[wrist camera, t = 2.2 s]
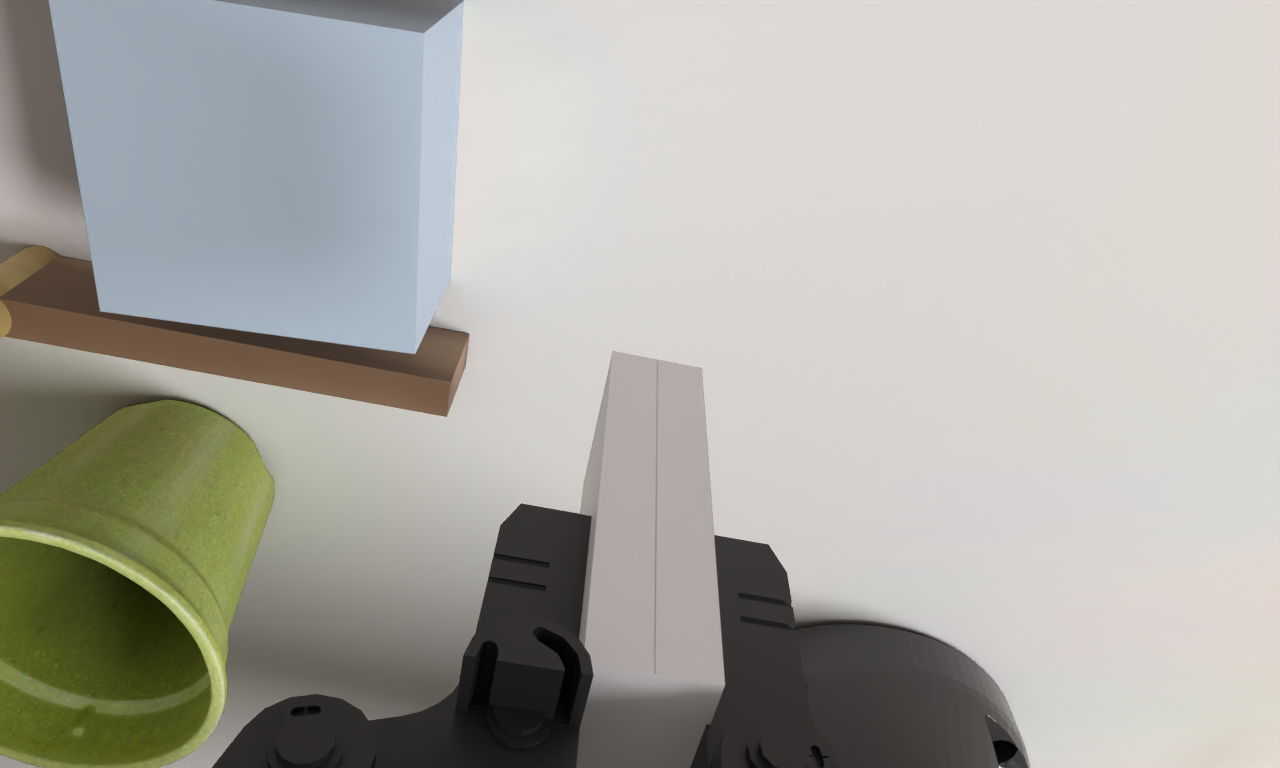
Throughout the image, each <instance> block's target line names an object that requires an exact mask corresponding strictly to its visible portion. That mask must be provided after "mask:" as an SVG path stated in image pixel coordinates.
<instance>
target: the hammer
mask: <svg viewBox="0 0 1280 768" xmlns="http://www.w3.org/2000/svg"><path fill="white" fill-rule="evenodd" d="M4 336H6V337H11V338H17V339H22V340H28V341H33V342H39V343H44V344H50V345H55V346H61V347H66V348H72V349H77V350H83V351H88V352H94V353H99V354H105V355H110V356H116V357H121V358H127V359H132V360H138V361H143V362H149V363H154V364H160V365H165V366H171V367H176V368H182V369H187V370H193V371H198V372H204V373H209V374H215V375H220V376H225V377H231V378H236V379H242V380H247V381H253V382H258V383H264V384H269V385H275V386H280V387H286V388H291V389H297V390H302V391H308V392H313V393H319V394H324V395H330V396H335V397H341V398H346V399H352V400H357V401H363V402H368V403H374V404H379V405H385V406H390V407H396V408H401V409H407V410H412V411H418V412H423V413H429V414H434V415H440V416H445V417H447V415H448V412H449V409H450V407H451V404H452V401H453V398H454V396H455V393H456V390H457V388H458V385H459V382H460V380H461V377H462V374H463V371H464V369H465V365H466V357H467V349H468V342H469V334H467V333H461V332H456V331H451V330H446V329H440V328H435V327H430V326H428V328H427V330H426V332H425V334H424V337H423V339H422V341H421V343H420V345H419V347H418V349H417V351H416V353H415V354H411V353H403V352H396V351H389V350H381V349H374V348H367V347H359V346H352V345H344V344H337V343H330V342H322V341H315V340H308V339H300V338H293V337H286V336H278V335H271V334H263V333H256V332H249V331H241V330H234V329H227V328H219V327H212V326H205V325H197V324H190V323H183V322H175V321H168V320H160V319H153V318H146V317H138V316H131V315H124V314H116V313H109V312H102V311H100V307H99V301H98V295H97V289H96V283H95V277H94V271H93V265H92V262H88V261H83V260H78V259H73V258H67V257H62V256H59V255H58V254H56V253H55V252H53V251H52V250H50V249H47V248H45V247H41V246H29V247H26V248H24V249H23V250H21V251H19V252H18V253H16V254H15V255H13V256H12V257H10V258H9V259H7V260H5V261H4V262H2V263H1V264H0V339H1V338H3V337H4Z"/></svg>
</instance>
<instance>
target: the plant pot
mask: <svg viewBox="0 0 1280 768" xmlns="http://www.w3.org/2000/svg"><path fill="white" fill-rule="evenodd" d="M273 499H274V480H273V477H272V476H271V475H270V474H269V472H268V471H267V469H266V467H265V465H264V463H263V461H262V459H261V457H260V455H259V452H258V450H257V447H256V445H255V443H254V441H253V440H252V439H251V438H250V437H249V436H248V435H247V434H246V433H245V432H244V431H242V430H241V429H240V428H239V427H237V426H236V425H235V424H234V423H232V422H231V421H229V420H227V419H226V418H224V417H222V416H221V415H219V414H217V413H215V412H213V411H210V410H208V409H205V408H203V407H200V406H197V405H194V404H190V403H186V402H182V401H176V400H161V401H156V402H151V403H144V404H139V405H134V406H128V407H123V408H121V409H119V410H118V411H116V412H115V413H113V414H112V415H110V416H109V417H108V418H106V419H105V420H103V421H102V422H101V423H99V424H98V425H96V426H95V427H94V428H92V429H91V430H89V431H88V432H87V433H85V434H84V435H83V436H81V437H80V438H79V439H77V440H76V441H75V442H73V443H72V444H71V445H69V446H68V447H66V448H65V449H64V450H62V451H61V452H60V453H58V454H57V455H55V456H54V457H53V458H51V459H50V460H48V461H47V462H46V463H44V464H43V465H42V466H40V467H39V468H37V469H36V470H35V471H33V472H32V473H30V474H29V475H28V476H26V477H25V478H24V479H22V480H21V481H19V482H18V483H17V484H15V485H14V486H12V487H11V488H10V489H8V490H7V491H6V492H4V493H3V494H1V495H0V755H2V756H5V757H8V758H11V759H14V760H17V761H20V762H23V763H26V764H30V765H34V766H37V767H41V768H159V767H162V766H166V765H168V764H171V763H173V762H175V761H177V760H179V759H181V758H183V757H185V756H187V755H189V754H190V753H191V752H193V751H195V750H196V749H197V748H199V747H200V746H201V745H202V744H203V743H204V742H205V741H206V740H207V739H208V738H209V736H210V735H211V734H212V732H213V731H214V729H215V728H216V726H217V724H218V722H219V720H220V718H221V715H222V712H223V710H224V707H225V703H226V698H227V674H226V668H225V665H226V661H227V655H228V633H229V630H230V626H231V623H232V620H233V617H234V614H235V611H236V608H237V605H238V602H239V599H240V596H241V593H242V590H243V587H244V584H245V581H246V578H247V575H248V572H249V570H250V567H251V564H252V561H253V558H254V555H255V552H256V550H257V547H258V544H259V541H260V539H261V536H262V533H263V530H264V528H265V525H266V522H267V519H268V516H269V513H270V510H271V507H272V504H273Z"/></svg>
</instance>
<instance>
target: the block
mask: <svg viewBox="0 0 1280 768" xmlns="http://www.w3.org/2000/svg"><path fill="white" fill-rule="evenodd" d="M48 1H49V7H50V13H51V19H52V25H53V31H54V37H55V43H56V49H57V55H58V61H59V67H60V73H61V79H62V85H63V91H64V97H65V103H66V109H67V115H68V121H69V127H70V133H71V139H72V145H73V151H74V157H75V163H76V169H77V175H78V181H79V187H80V193H81V199H82V205H83V211H84V217H85V223H86V229H87V235H88V241H89V247H90V253H91V259H92V265H93V271H94V277H95V283H96V289H97V295H98V301H99V307H100V311H102V312H109V313H116V314H124V315H131V316H138V317H146V318H153V319H160V320H168V321H175V322H183V323H190V324H197V325H205V326H212V327H219V328H227V329H234V330H241V331H249V332H256V333H263V334H271V335H278V336H286V337H293V338H300V339H308V340H315V341H322V342H330V343H337V344H344V345H352V346H359V347H367V348H374V349H381V350H389V351H396V352H403V353H411V354H415V353H416V351H417V349H418V347H419V345H420V343H421V341H422V339H423V337H424V334H425V332H426V330H427V328H428V326H429V324H430V322H431V320H432V318H433V315H434V313H435V311H436V309H437V307H438V305H439V303H440V301H441V299H442V296H443V294H444V292H445V290H446V288H447V286H448V284H449V282H450V279H451V264H452V243H453V221H454V200H455V179H456V158H457V137H458V115H459V94H460V73H461V52H462V31H463V9H464V0H48Z"/></svg>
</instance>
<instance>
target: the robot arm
mask: <svg viewBox="0 0 1280 768" xmlns="http://www.w3.org/2000/svg"><path fill="white" fill-rule="evenodd" d="M791 602H792V601H791V595H790V589H789V583H788V577H787V572H786V571H785V569H784V568H783V566H782V565H781V563H780V562H779V560H778V559H777V557H776V555H775V554H774V552H773V551H772V549H771V548H770V546H769V545H767V544H762V543H756V542H750V541H745V540H739V539H733V538H727V537H722V536H716V535H714V527H713V513H712V499H711V486H710V472H709V458H708V445H707V431H706V417H705V404H704V390H703V376H702V368H697V367H692V366H687V365H682V364H677V363H671V362H666V361H661V360H656V359H650V358H645V357H640V356H635V355H630V354H624V353H619V352H614V351H613V352H612V357H611V361H610V366H609V371H608V375H607V380H606V384H605V389H604V393H603V398H602V402H601V407H600V411H599V416H598V420H597V425H596V429H595V434H594V438H593V443H592V448H591V452H590V457H589V461H588V466H587V470H586V475H585V479H584V485H583V494H582V502H581V510H580V514H577V513H572V512H566V511H560V510H554V509H549V508H543V507H537V506H532V505H526V504H520V505H519V506H518V507H517V509H516V510H515V511H514V512H513V513H512V514H511V515H510V516H509V517H508V518H507V519H506V520H505V521H504V522H503V523H502V524H501V526H500V530H499V534H498V539H497V543H496V547H495V552H494V557H493V560H492V565H491V569H490V573H489V578H488V582H487V586H486V590H485V595H484V599H483V603H482V608H481V612H480V616H479V621H478V625H477V629H476V633H475V636H473V638H472V640H471V642H470V644H469V646H468V647H467V649H466V651H465V653H464V656H463V662H462V669H461V675H460V682H459V685H458V686H457V687H456V689H455V690H454V691H453V693H451V694H450V695H449V696H447V697H446V698H445V699H444V700H442V701H441V702H440V703H438V704H436V705H434V706H432V707H430V708H428V709H426V710H424V711H421V712H417V713H413V714H409V715H405V716H400V717H392V718H385V719H377V720H370V721H368V720H367V718H366V717H365V715H364V714H363V712H362V711H361V710H359V709H358V708H356V707H354V706H353V705H351V704H349V703H348V702H346V701H344V700H343V699H340V698H334V697H329V696H324V695H319V694H314V695H306V696H298V697H290V698H288V699H285V700H283V701H281V702H279V703H276V704H274V705H272V706H270V707H267V708H265V709H264V710H263V711H261V712H260V713H259V714H258V715H257V716H256V717H255V718H254V719H252V720H251V721H250V722H249V723H248V724H247V725H246V726H245V727H244V728H243V729H242V730H241V732H240V733H239V734H238V735H237V737H236V738H235V739H234V740H233V742H232V743H231V744H230V746H229V747H228V748H227V749H226V751H225V752H224V753H223V754H222V756H221V757H220V758H219V759H218V761H217V762H216V763H215V764H214V766H213V767H212V768H1030V764H1029V759H1028V755H1027V751H1026V748H1025V745H1024V742H1023V740H1022V737H1021V735H1020V732H1019V730H1018V727H1017V725H1016V722H1015V720H1014V717H1013V715H1012V712H1011V710H1010V707H1009V705H1008V702H1007V700H1006V698H1005V696H1004V694H1003V693H1002V691H1001V690H1000V688H999V687H998V685H997V684H996V683H995V681H994V680H993V679H992V678H991V677H990V676H989V675H988V674H987V673H986V672H985V671H984V670H983V669H982V668H981V667H980V666H979V665H977V664H976V663H975V662H974V661H972V660H971V659H969V658H968V657H967V656H965V655H964V654H962V653H960V652H958V651H957V650H955V649H953V648H951V647H949V646H947V645H945V644H943V643H941V642H938V641H936V640H933V639H931V638H928V637H925V636H922V635H919V634H915V633H911V632H908V631H904V630H899V629H894V628H888V627H881V626H872V625H856V624H836V625H821V626H811V627H804V628H798V629H795V619H794V613H793V607H791Z"/></svg>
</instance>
